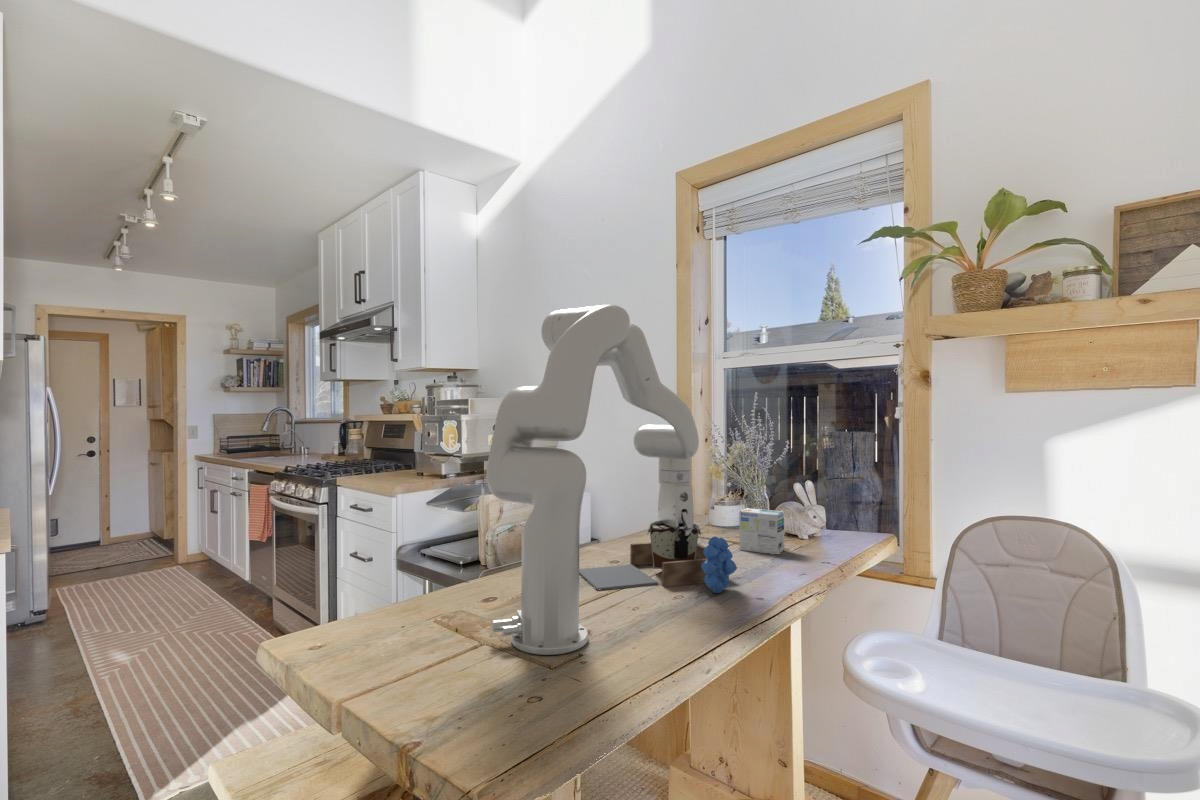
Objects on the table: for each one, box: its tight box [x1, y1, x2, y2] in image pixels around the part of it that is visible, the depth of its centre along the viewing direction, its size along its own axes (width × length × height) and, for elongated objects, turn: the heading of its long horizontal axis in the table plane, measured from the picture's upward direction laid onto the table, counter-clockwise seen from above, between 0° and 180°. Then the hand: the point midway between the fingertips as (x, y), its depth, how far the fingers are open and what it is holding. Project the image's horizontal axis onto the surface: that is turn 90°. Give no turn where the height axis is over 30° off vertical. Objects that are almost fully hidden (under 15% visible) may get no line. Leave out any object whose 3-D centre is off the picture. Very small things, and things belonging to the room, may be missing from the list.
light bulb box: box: [738, 507, 785, 555], centre depth 160 cm, size 11×7×11 cm, turn 58°
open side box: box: [629, 541, 730, 588], centre depth 139 cm, size 16×19×5 cm
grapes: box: [701, 536, 738, 594], centre depth 122 cm, size 12×7×12 cm, turn 144°
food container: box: [647, 520, 702, 570], centre depth 139 cm, size 12×6×10 cm, turn 89°
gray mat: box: [579, 564, 659, 591], centre depth 133 cm, size 14×15×1 cm
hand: (674, 553), depth 138 cm, fingers closed on food container, 6 cm apart
